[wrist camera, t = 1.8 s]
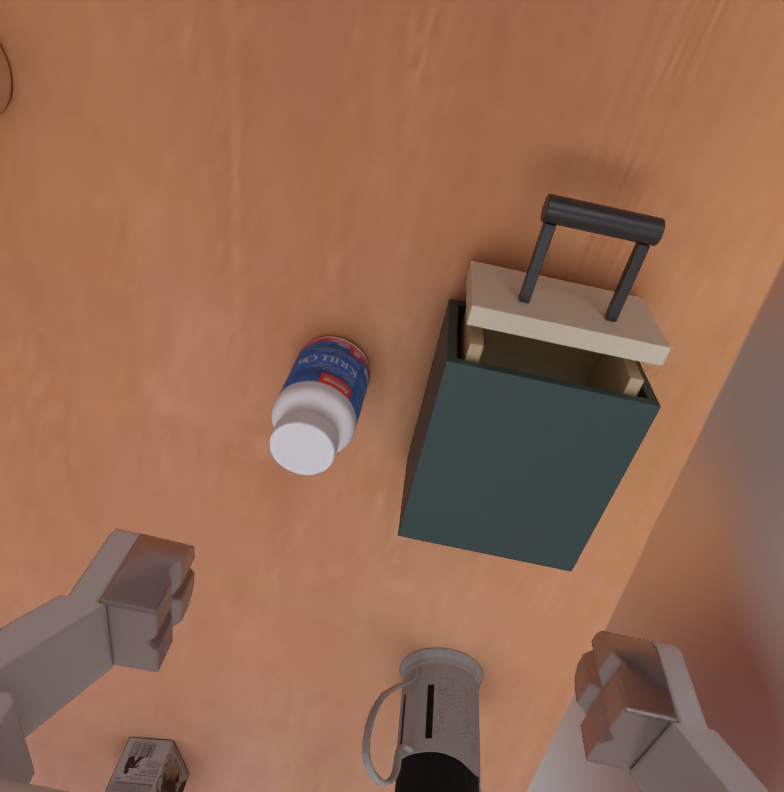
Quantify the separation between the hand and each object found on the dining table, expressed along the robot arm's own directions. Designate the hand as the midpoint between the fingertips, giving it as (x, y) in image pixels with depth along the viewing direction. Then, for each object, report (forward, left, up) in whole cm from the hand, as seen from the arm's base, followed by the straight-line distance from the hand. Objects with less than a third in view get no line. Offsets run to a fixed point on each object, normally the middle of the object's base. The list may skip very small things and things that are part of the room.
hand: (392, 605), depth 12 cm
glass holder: (+46, +9, -30) cm, 56 cm away
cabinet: (+13, +8, -29) cm, 33 cm away
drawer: (+7, +8, -29) cm, 30 cm away
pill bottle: (+13, -5, -30) cm, 33 cm away
